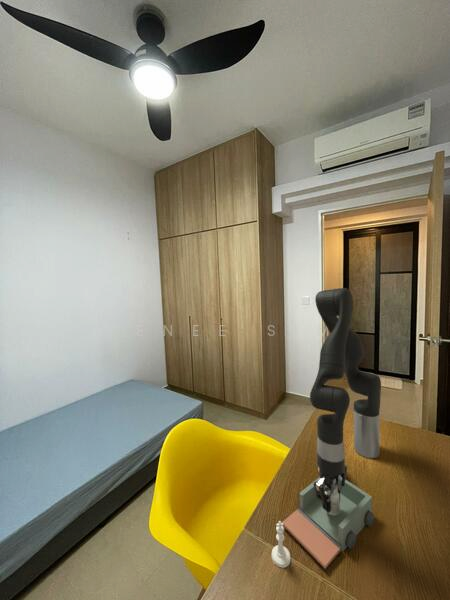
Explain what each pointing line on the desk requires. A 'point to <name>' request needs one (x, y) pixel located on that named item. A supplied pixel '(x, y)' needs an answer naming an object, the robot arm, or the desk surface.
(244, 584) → the desk surface
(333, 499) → the pill bottle
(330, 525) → the truck bed
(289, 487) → the desk surface
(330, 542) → the panel
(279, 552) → the chess piece
